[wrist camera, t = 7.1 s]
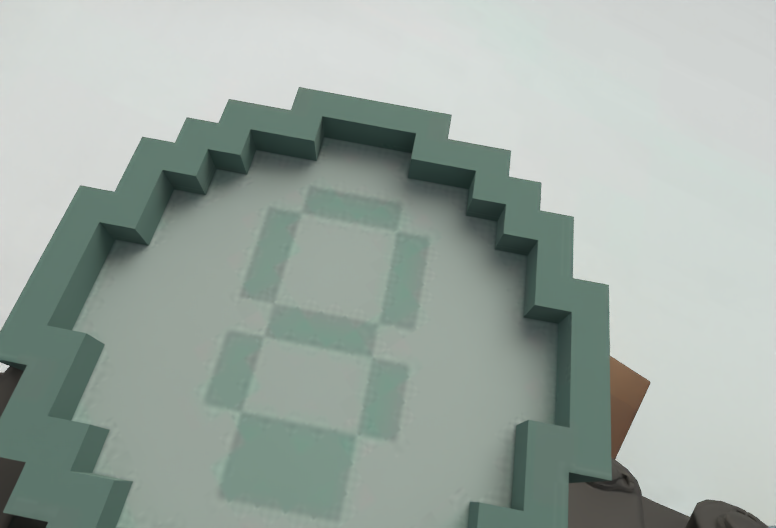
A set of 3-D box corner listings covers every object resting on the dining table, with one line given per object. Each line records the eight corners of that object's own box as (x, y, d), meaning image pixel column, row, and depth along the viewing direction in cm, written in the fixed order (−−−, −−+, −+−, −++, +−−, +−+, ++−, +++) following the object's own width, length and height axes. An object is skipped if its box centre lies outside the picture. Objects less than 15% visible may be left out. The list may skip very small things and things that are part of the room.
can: (243, 519, 17) (-150, 604, 4) (288, 354, 20) (148, 60, 6) (412, 554, 17) (615, 766, 4) (435, 383, 20) (606, 143, 6)
